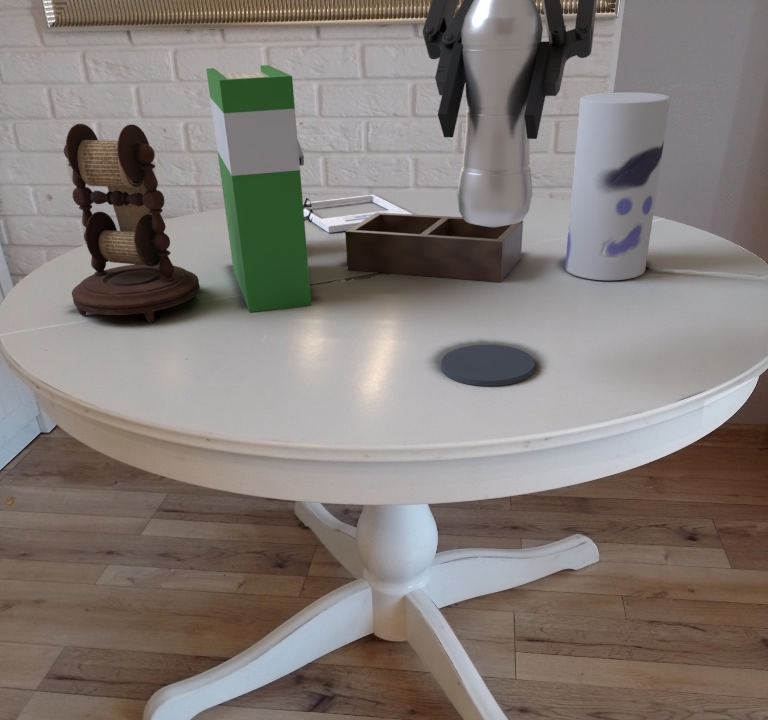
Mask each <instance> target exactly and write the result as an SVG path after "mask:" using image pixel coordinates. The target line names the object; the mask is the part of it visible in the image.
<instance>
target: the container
mask: <svg viewBox="0 0 768 720" xmlns="http://www.w3.org/2000/svg"><path fill="white" fill-rule="evenodd" d="M670 104H671V97H670V96H669V95H667V94H662V93H656V92H655V93H653V92H641V91H640V92H639V91H638V92H635V91H633V92H632V91H631V92H630V91H627V92H624V91H623V92H621V91H620V92H601V93H592V94H586V95H584V96H581V97H580V99H579V111H578V120H577V121H578V122H577V133H576V142H575V143H576V144H575V152H574V153H575V154H574V155H575V156H574V165H573V174H572V175H573V177H572V186H571V187H572V189H571V199H570V208H569V221H568V232H567V242H566V255H565V265H564V269H565V271H567V272H568V273H569V274H570V275H573V276H575V277H579V278H582V279H587V280H594V281H595V280H596V281H624V280H630V279H634V278H637V277H640V276H642V275H643V274H644V273H645V272H646V266H647V260H648V252H649V247H650V241H651V240H650V239H651V234H652V233H651V232H652V227H653V226H652V225H653V219H654V212H655V206H656V199H657V191H658V184H659V178H660V177H659V176H660V172H661V165H662V159H663V158H662V157H663V151H664V143H665V138H666V131H667V124H668V116H669V110H670Z"/></svg>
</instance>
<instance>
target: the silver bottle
mask: <svg viewBox="0 0 768 720" xmlns="http://www.w3.org/2000/svg"><path fill="white" fill-rule="evenodd" d="M543 31H544V27H543V21H542V15H541V13H540V11H539V9H538V6H537V4H536V1H535V0H474V1H473V3H472V4H471V6H470V8H469V10H468V12H467V14H466V16H465V19H464V23H463V26H462V30H461V36H462V44H463V49H462V51H463V62H464V72H465V105H466V111H465V120H466V121H465V122H466V123H465V135H464V136H465V137H464V144H463V145H464V146H463V156H462V167H461V169H460V173H459V178H458V183H457V184H458V185H457V190H456V191H457V192H456V197H457V203H458V212H459V213H460V215H461V217H463V219H464V220H465V221H466V222H468V223H471V224H475V225H481V226H487V227H500V226H505V225H511V224H515V223H519V222H521V221H524V219H525V218H526V216H527V214H529V211H530V207H531V202H532V198H533V178H532V170H531V167H530V164H531V163H530V159H531V158H530V157H531V156H530V139H527V133H526V125H525V118H524V114H525V109H526V104H527V99H528V95H529V90H530V85H531V80H532V75H533V71H534V66H535V61H536V56H537V51H538V47H539V43H540V42H542V39H543Z"/></svg>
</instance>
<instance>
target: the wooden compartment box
mask: <svg viewBox="0 0 768 720" xmlns="http://www.w3.org/2000/svg"><path fill="white" fill-rule="evenodd" d="M376 212H377V213H375V214H373V215H372V216H370V217H368V218H367V219H365V220H363V221H362V222H360V223H358V224H357V225H355V226H354V227H352V228H350V229H349V230H346V231H345V233H344V234H345V250H346V265H347V266H346V267H347V268H346V269H347V270H348V271H359V272H368V273H369V272H372V273H382V274H396V275H406V276H407V275H408V276H419V277H432V278H442V279H443V278H444V279H454V280H455V279H456V280H468V281H469V280H470V281H478V282H479V281H481V282H492V283H501V282H502V281H503V280H504V279H505V278H506V277H507V276H508V274H509V273H510V272H511V271H512V270H513V268H514V267H515V266H516V265H517V264H518V262H519V261H520V260H521V259H522V249H523V248H522V247H523V233H524V232H523V229H524V220H522V221H521V222H519V223H515V224H511V225H505V226H500V227H487V226H481V225H475V224H471V223H468V222H466V221H465V220H464V219H463V217H462V216H447V215H431V214H429V215H428V214H414V213H412V214H396V213H378V212H379V211H376Z"/></svg>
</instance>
